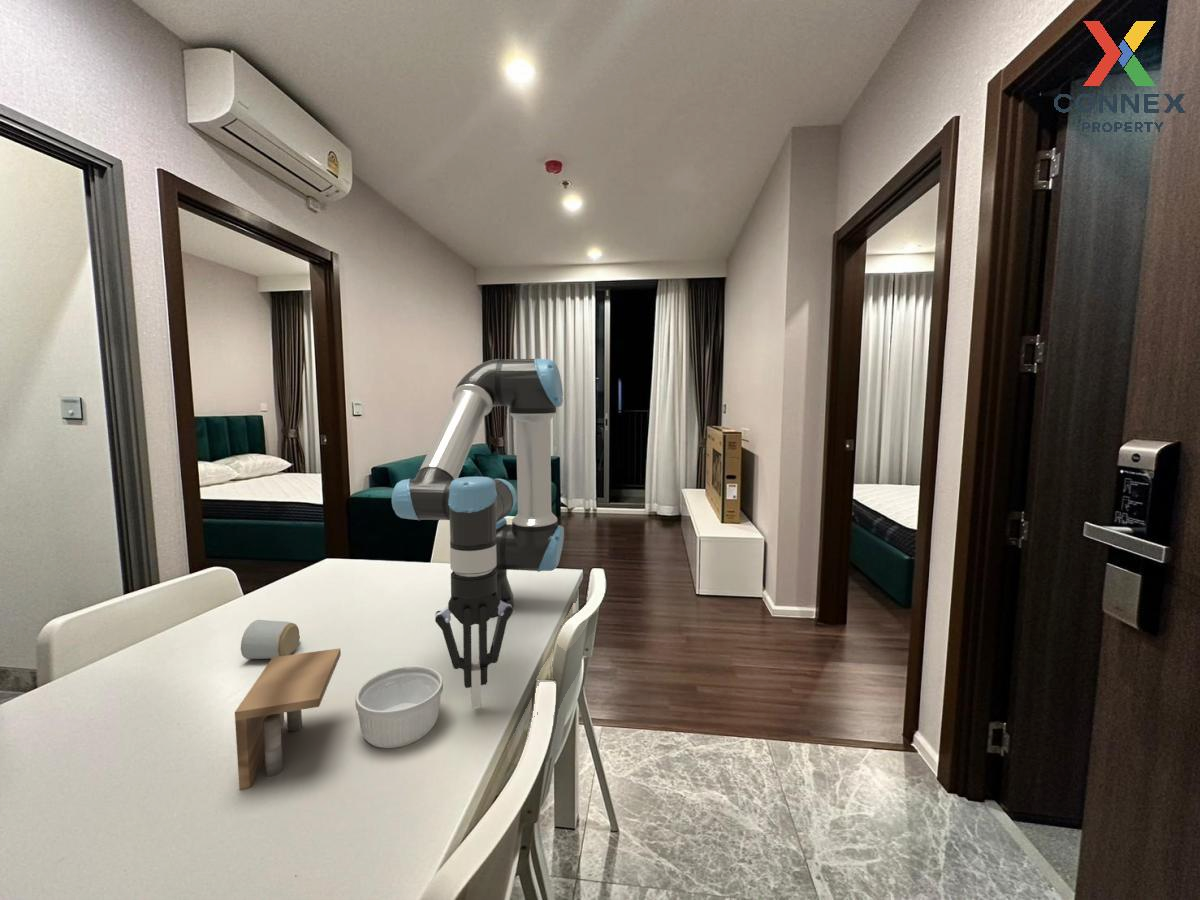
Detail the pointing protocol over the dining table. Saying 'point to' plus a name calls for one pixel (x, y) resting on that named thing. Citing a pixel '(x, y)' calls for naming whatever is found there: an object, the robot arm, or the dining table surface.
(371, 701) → the ramekin
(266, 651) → the ceramic mug
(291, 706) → the walnut shelf
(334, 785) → the dining table surface
